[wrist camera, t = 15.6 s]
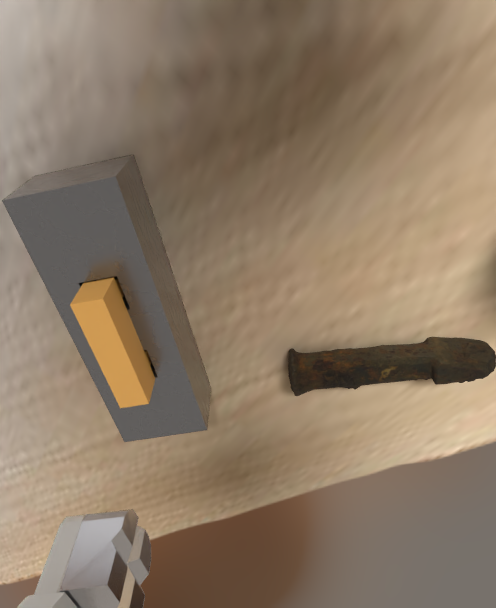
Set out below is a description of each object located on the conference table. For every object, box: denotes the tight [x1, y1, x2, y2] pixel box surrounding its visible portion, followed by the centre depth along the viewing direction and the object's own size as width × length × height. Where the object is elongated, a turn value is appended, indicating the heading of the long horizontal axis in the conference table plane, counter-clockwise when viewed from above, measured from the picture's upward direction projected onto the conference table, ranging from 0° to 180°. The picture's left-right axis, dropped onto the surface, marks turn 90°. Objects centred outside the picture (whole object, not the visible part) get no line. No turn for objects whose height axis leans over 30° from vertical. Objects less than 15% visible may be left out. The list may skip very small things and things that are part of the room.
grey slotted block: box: [2, 155, 211, 442], centre depth 39 cm, size 24×8×6 cm, turn 12°
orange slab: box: [70, 276, 155, 408], centre depth 38 cm, size 10×2×8 cm, turn 12°
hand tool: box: [288, 337, 496, 396], centre depth 43 cm, size 19×4×5 cm, turn 95°
